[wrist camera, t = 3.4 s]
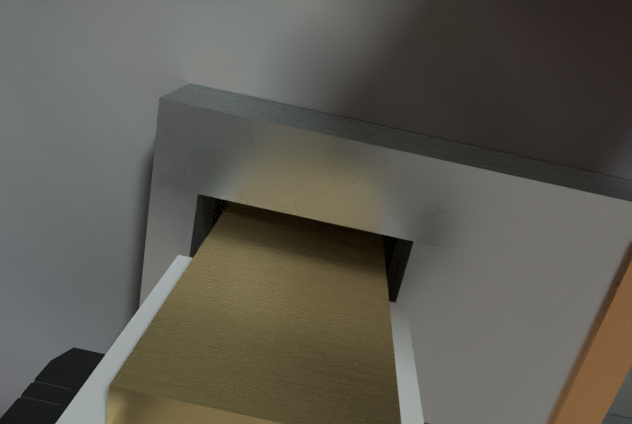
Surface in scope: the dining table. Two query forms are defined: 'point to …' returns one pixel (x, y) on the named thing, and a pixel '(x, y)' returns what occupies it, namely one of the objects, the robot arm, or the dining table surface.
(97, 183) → the dining table surface
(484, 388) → the grey shape sorter board
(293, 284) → the tan rectangular block
